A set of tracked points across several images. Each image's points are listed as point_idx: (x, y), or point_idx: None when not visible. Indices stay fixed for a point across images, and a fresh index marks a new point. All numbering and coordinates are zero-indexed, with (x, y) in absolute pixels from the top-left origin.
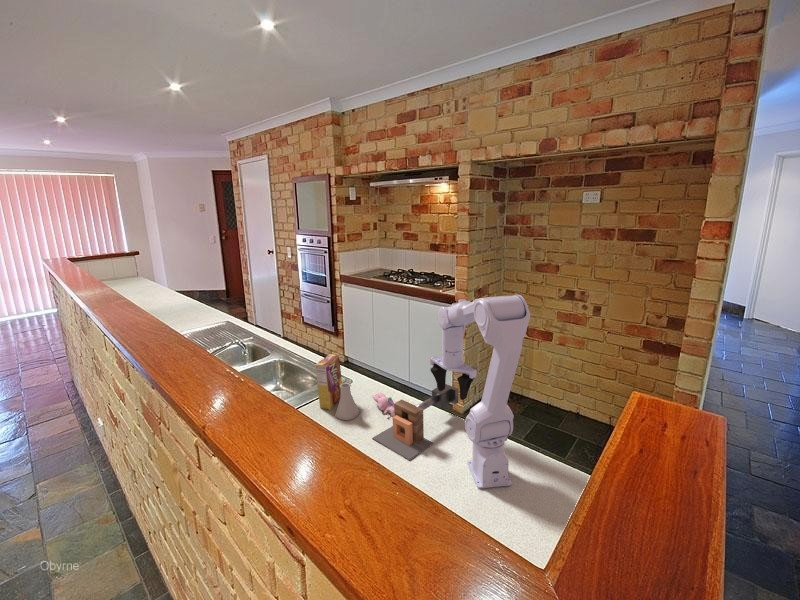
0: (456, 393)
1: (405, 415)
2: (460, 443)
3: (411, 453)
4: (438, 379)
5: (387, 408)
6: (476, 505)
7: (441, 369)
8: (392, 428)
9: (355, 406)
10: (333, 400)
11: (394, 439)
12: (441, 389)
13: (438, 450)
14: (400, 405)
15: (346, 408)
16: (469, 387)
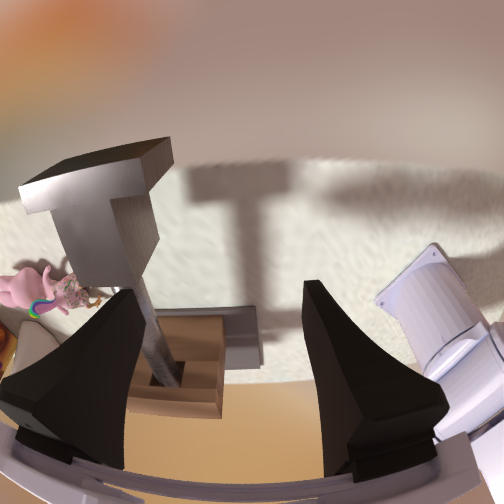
0: (154, 172)
1: None
2: (316, 254)
3: (248, 358)
4: (125, 401)
5: (50, 299)
6: None
7: (94, 444)
8: None
9: (34, 344)
10: (5, 342)
11: None
12: (141, 323)
13: (285, 313)
14: (150, 412)
15: None
16: (357, 328)
